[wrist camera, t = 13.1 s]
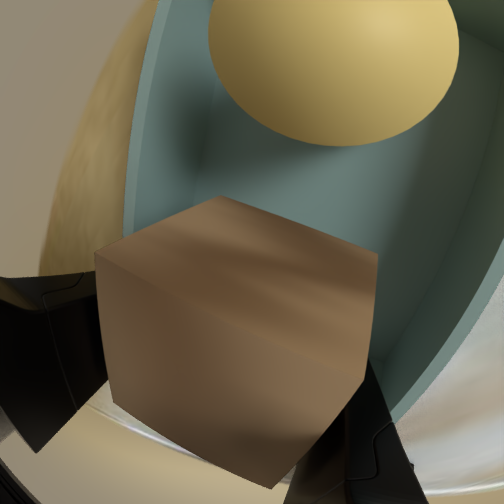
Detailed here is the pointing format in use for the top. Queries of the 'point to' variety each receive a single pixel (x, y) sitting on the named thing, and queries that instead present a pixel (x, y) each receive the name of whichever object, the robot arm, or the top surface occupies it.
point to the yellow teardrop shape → (335, 64)
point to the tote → (344, 184)
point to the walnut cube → (236, 332)
